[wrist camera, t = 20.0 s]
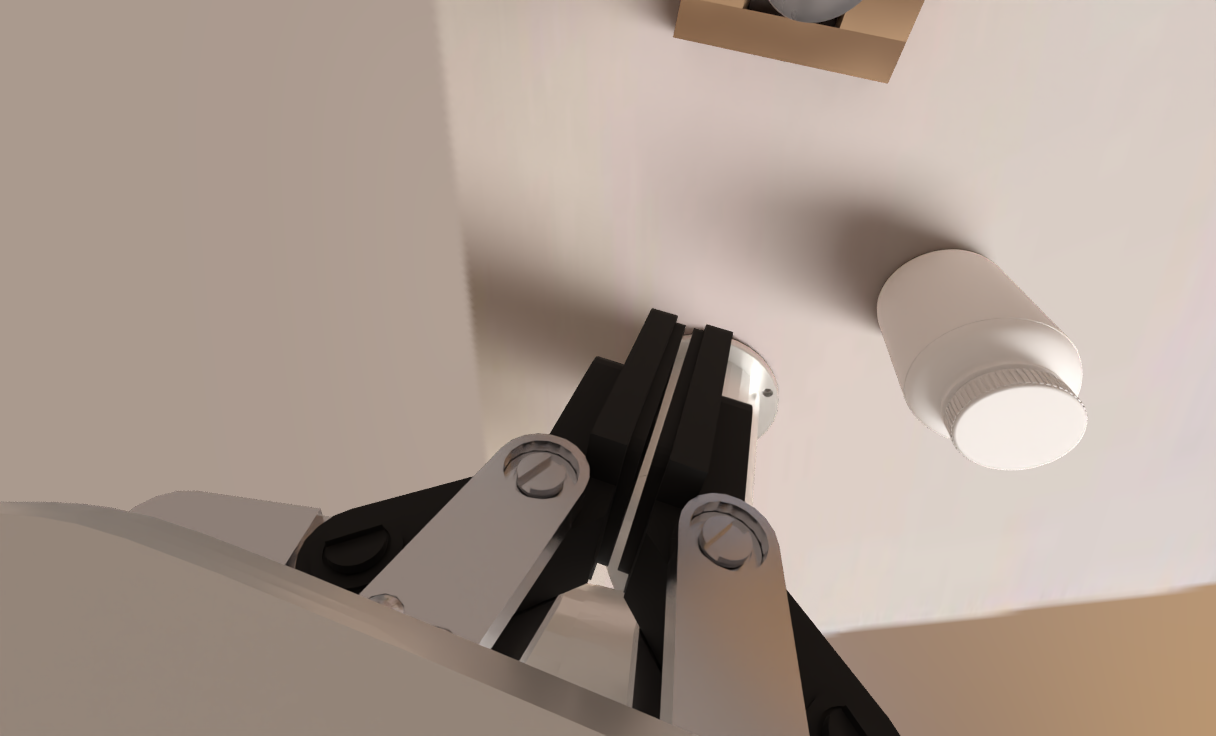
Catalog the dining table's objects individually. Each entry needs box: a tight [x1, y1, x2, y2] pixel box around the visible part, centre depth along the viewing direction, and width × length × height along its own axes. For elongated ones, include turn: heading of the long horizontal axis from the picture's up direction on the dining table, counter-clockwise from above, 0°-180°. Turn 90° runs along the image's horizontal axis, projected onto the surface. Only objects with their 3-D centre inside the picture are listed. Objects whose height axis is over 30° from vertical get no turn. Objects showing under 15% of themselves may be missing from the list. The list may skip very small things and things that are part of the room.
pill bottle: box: [877, 249, 1088, 470], centre depth 30 cm, size 8×8×15 cm
